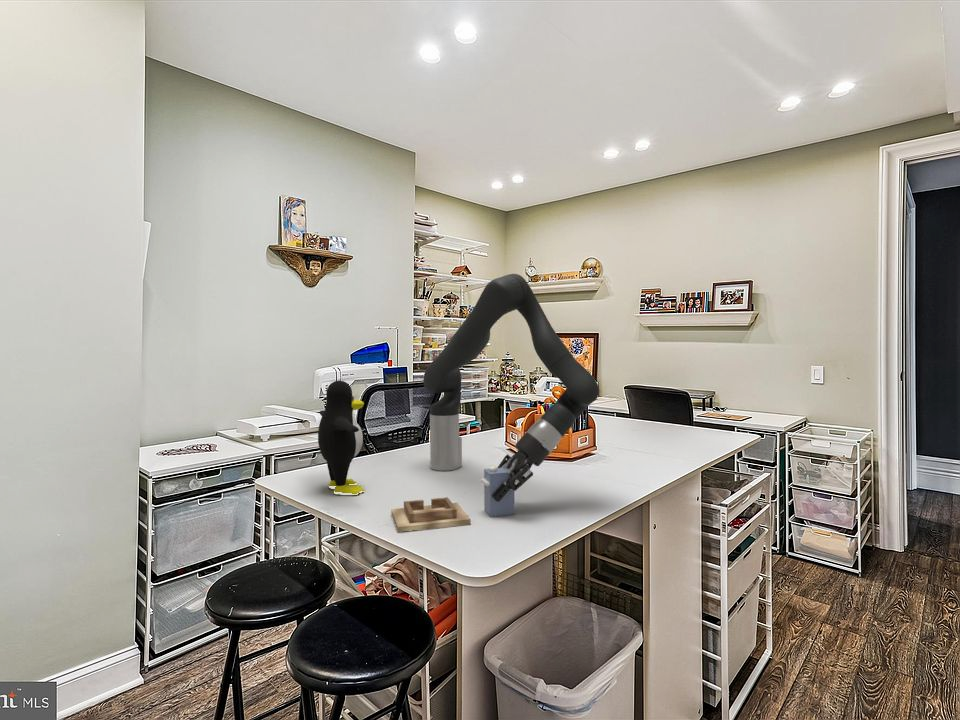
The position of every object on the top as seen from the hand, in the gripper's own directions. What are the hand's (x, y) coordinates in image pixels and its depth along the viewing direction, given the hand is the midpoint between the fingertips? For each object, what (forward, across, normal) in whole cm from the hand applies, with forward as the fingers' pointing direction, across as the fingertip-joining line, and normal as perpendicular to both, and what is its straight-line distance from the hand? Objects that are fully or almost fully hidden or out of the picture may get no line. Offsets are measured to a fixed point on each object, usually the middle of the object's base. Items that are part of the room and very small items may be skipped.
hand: (491, 495), depth 120 cm
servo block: (+2, 0, +4) cm, 5 cm away
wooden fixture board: (+13, 0, -7) cm, 15 cm away
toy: (+26, -30, -20) cm, 45 cm away
